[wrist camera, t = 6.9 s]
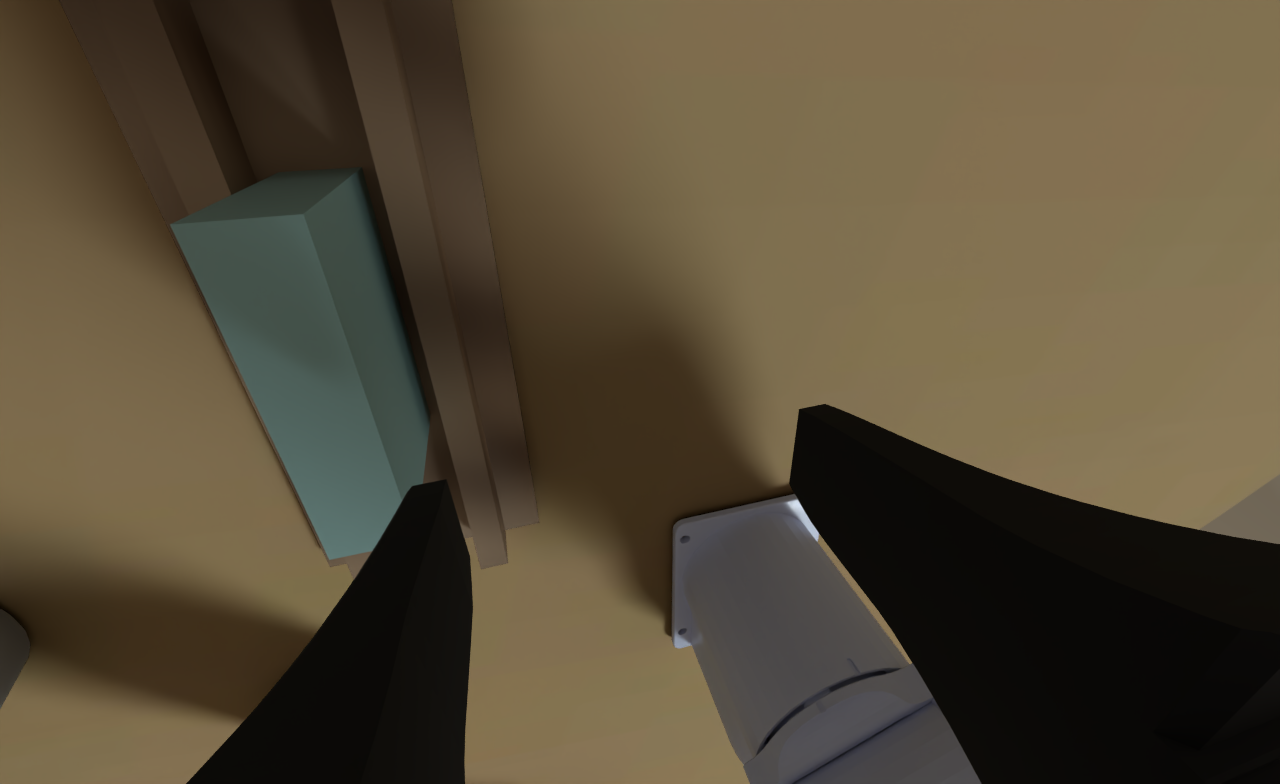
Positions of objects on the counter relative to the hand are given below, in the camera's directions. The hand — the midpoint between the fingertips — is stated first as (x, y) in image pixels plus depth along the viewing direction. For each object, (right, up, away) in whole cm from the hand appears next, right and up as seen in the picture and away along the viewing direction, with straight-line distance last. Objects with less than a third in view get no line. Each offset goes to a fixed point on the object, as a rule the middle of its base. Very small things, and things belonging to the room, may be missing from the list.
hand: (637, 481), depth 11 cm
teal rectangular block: (-8, +4, +5) cm, 11 cm away
